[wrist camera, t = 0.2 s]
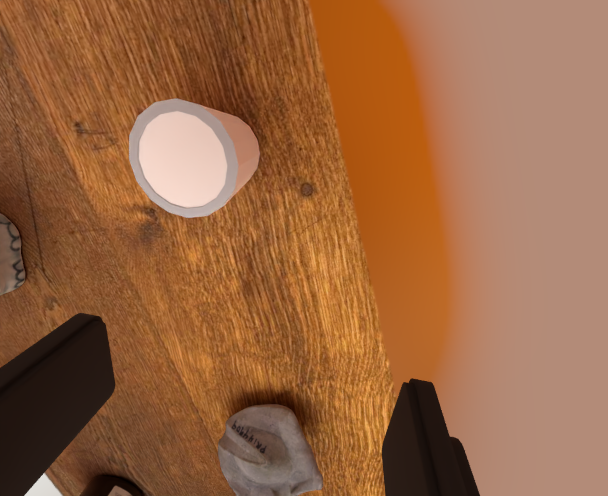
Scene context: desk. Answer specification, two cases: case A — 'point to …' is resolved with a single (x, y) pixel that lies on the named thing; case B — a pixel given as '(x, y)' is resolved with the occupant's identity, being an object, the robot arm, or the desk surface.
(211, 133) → the shot glass
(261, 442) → the fossil
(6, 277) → the teapot
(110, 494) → the ink bottle
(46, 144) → the desk surface
